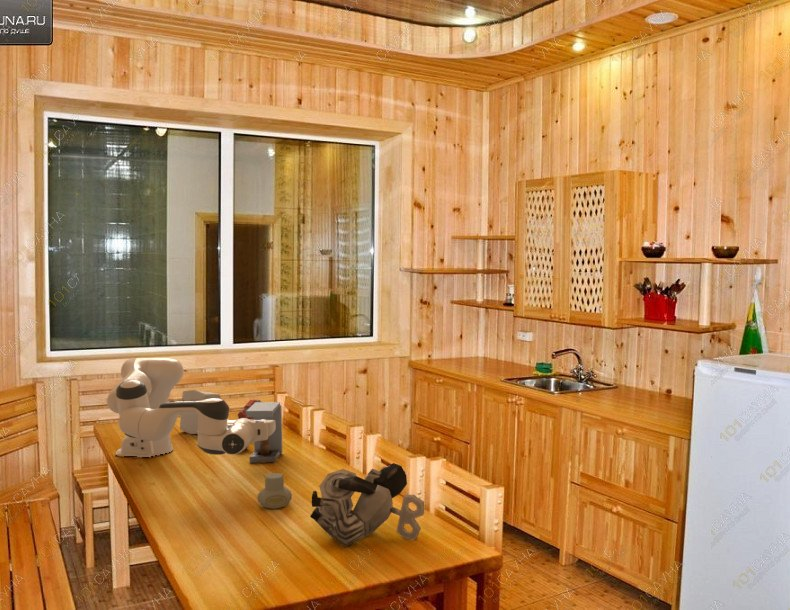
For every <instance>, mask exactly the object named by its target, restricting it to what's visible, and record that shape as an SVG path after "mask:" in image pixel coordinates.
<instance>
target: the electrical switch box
mask: <svg viewBox="0 0 790 610" xmlns="http://www.w3.org/2000/svg"><path fill="white" fill-rule="evenodd" d="M220 395H221V394H220V393H217V392H208V391H201V390H200V391H199V390H196V389H192V390H191V389H190V390H183V391H182V397H181V400H205V399H211V398H219V399H221V396H220ZM179 420H180V424H179V430H180V431H182V432H184V433H187V434H189V435H198V423H199V416H198V414H197V413H196V412H193V413H180V419H179Z"/></svg>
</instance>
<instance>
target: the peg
mask: <svg viewBox="0 0 790 610" xmlns="http://www.w3.org/2000/svg"><path fill="white" fill-rule="evenodd" d="M260 455H270V454H269V436H268V439H267V440H263V441H260Z"/></svg>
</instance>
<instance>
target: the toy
mask: <svg viewBox="0 0 790 610" xmlns="http://www.w3.org/2000/svg"><path fill="white" fill-rule="evenodd" d="M407 485H408V480H407V474H406V471H405V470H404V468H403V466H402V465H400V464H397V463H395V462H392V463H391V464H389V465H387V466H382V468H381V469H380V470H378V469H376V468H371V469H370V470H369V472H368V473H367V475H366V477H365V478H362V477H359V476H357V473H355V472H353V471H350V470H347V469H345V468H342V469H337V470H336V471H332V472H330V473H327V474H326V476H325V477H324V479H323V480H322V481H321V483H320V484H319V490H320V494H321V497H319V496H318V492H317V491H316V490H313V491H312V494H311V506H312V508H314V509H313V511H312V513H311V514H310V518H311V519H313V520H314V521H315V523H317V524H318V526H320V528H322V530H323V531H324V532H325V533H326V534H328V536H329V537H330V538H332V539H334V540H337V541H338V543H339V544H340V545H342V546H343V547H345V548H347V547H348V546H350V545H352V544H354V543H356V542H358V541H361V540H363V539H364V538H366V537H368V536H370V535H371V534H372V533H375V531H376V530H377V529H378V528H379V527H381V526H382V525H383V523H385V522H386V521H387V520H388V519H389V517H390V516H391V514H394V515H396V516H399V518H398V523H397V528H396V532H397V534H399V535H400V537H402V538H403V539H406V540H413V541H415V540H417V538H418V536H419V534H420V531H421V530H422V528H421V525H419V523H418V521H417V520H416V519H417V518H419V517H422V516H424V515H425V501H424V500H422V499H421V498H419V497H418V496H417V495H416V494H404V495H403V498H402V501H401V502H402V503H401V506H400V507H401V508H400V509H399V508H396V507H394V504H393V502H394V501H393V498H395V497H397V496H399V495H400V494H401V493H402V491H403V490H404V489H405V487H406V486H407ZM355 493H360V495H359V497H358V499H357V501H356V503H355V506H354V504H353V500H352V497H353V495H354V494H355ZM410 503H412V504H414V505H415V506H416V510H412V509H411V508H410V507H409V505H410ZM405 525H409V526H410V527H411V528H412V530H411V531H408V530H407V529H406V528H405Z"/></svg>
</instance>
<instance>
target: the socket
mask: <svg viewBox="0 0 790 610" xmlns="http://www.w3.org/2000/svg"><path fill="white" fill-rule="evenodd" d="M269 454H270V455H260V450H255V451H254V450H253V452H252V453H251V454H250V455H249V464H260V463H259V462H276V463H277V461H278V460H277V459H279V458H280V457H281V455H280V450H269ZM279 456H280V457H279ZM278 457H279V458H278Z"/></svg>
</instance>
